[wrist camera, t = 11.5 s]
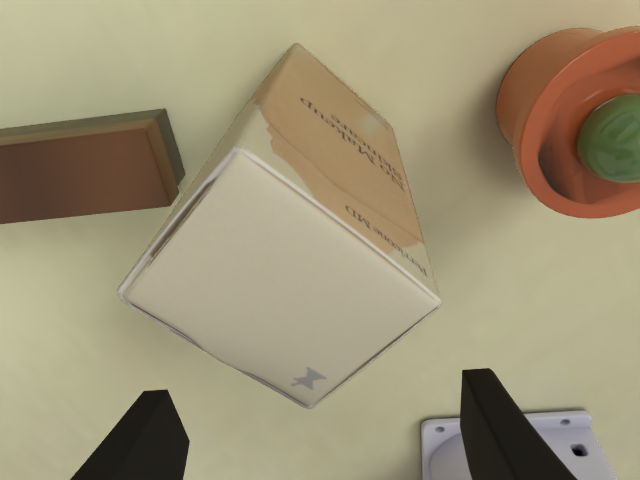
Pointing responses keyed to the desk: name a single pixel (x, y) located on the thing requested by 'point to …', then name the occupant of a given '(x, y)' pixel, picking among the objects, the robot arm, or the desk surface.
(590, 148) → the succulent pot
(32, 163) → the brown rectangular bar
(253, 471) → the desk surface
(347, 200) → the box
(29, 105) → the desk surface
